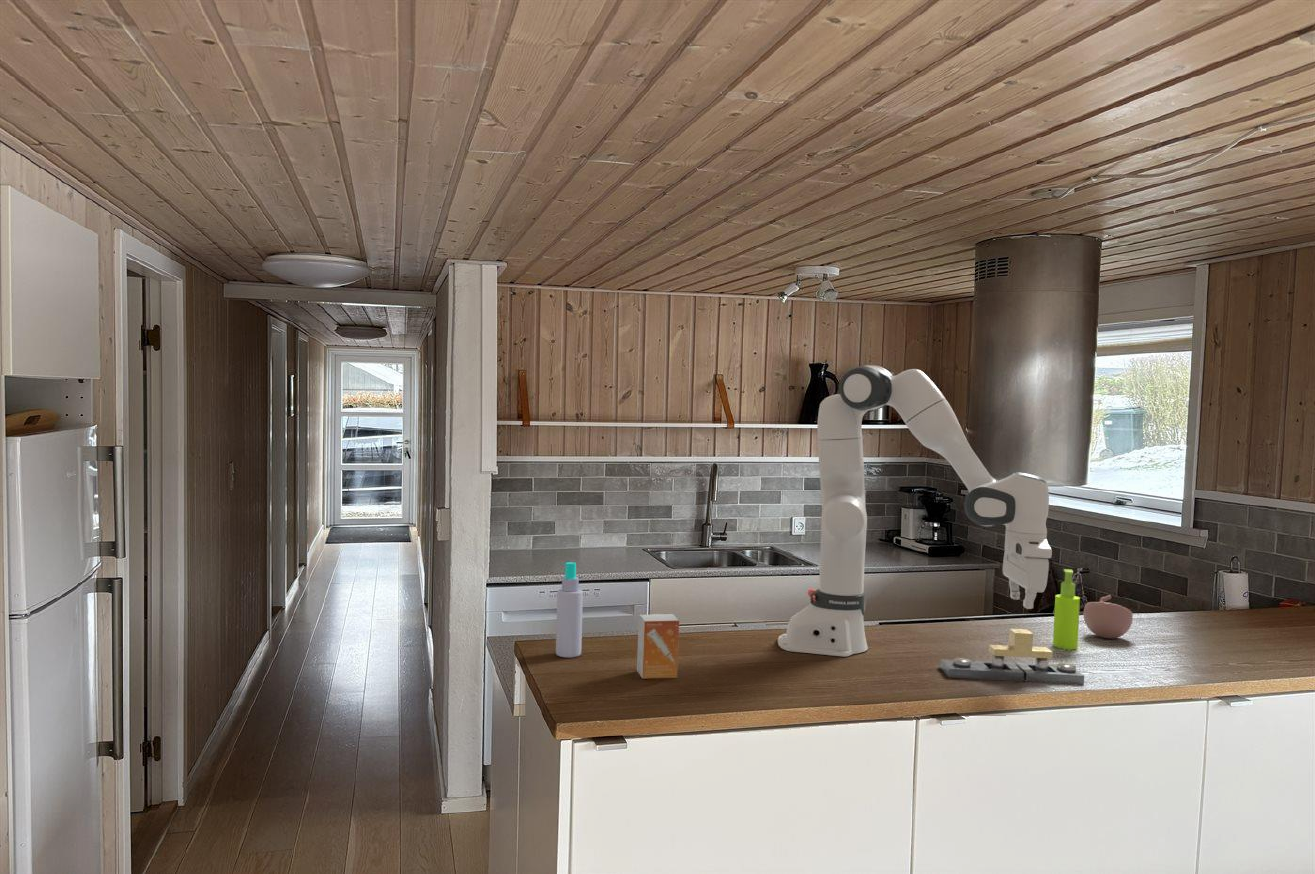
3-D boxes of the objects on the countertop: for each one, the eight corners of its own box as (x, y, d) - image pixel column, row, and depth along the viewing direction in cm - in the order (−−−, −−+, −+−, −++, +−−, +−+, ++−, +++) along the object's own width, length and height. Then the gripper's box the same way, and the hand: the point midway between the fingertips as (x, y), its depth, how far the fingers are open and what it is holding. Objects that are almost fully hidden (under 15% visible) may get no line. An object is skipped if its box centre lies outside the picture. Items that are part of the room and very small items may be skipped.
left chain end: (948, 677, 211) (948, 664, 210) (940, 667, 219) (940, 654, 218) (1023, 681, 209) (1024, 668, 209) (1012, 670, 217) (1013, 658, 217)
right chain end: (1026, 681, 209) (1026, 668, 209) (1015, 670, 217) (1015, 658, 217) (1083, 684, 208) (1084, 671, 208) (1070, 673, 216) (1071, 661, 216)
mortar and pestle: (1133, 636, 254) (1135, 595, 253) (1128, 646, 243) (1131, 603, 243) (1085, 629, 260) (1087, 589, 259) (1079, 638, 250) (1081, 596, 249)
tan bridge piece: (992, 677, 212) (994, 631, 211) (987, 671, 216) (989, 627, 215) (1050, 680, 211) (1053, 634, 211) (1044, 674, 215) (1047, 630, 215)
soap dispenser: (1075, 643, 244) (1079, 568, 243) (1078, 650, 238) (1082, 573, 237) (1051, 641, 246) (1055, 566, 245) (1053, 647, 239) (1057, 571, 239)
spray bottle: (577, 659, 216) (579, 566, 215) (552, 657, 217) (554, 564, 217) (584, 652, 222) (586, 561, 221) (560, 650, 223) (562, 560, 222)
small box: (642, 679, 202) (644, 620, 202) (636, 671, 209) (638, 613, 208) (678, 678, 204) (679, 619, 204) (671, 669, 210) (672, 613, 210)
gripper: (997, 536, 223) (994, 592, 223) (1025, 550, 202) (1021, 612, 203) (1024, 537, 222) (1020, 594, 223) (1055, 552, 202) (1050, 614, 203)
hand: (1021, 603), depth 213 cm, fingers open, 8 cm apart
